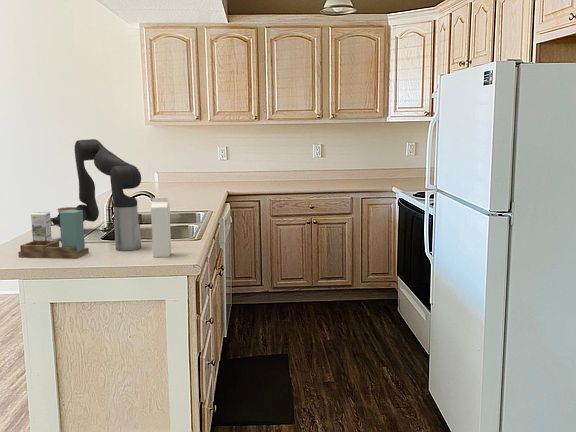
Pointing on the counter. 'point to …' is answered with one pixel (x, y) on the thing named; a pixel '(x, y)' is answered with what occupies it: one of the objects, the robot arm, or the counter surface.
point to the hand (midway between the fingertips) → (49, 224)
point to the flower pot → (65, 209)
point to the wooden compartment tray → (49, 250)
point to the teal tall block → (72, 229)
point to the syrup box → (41, 226)
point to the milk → (161, 227)
